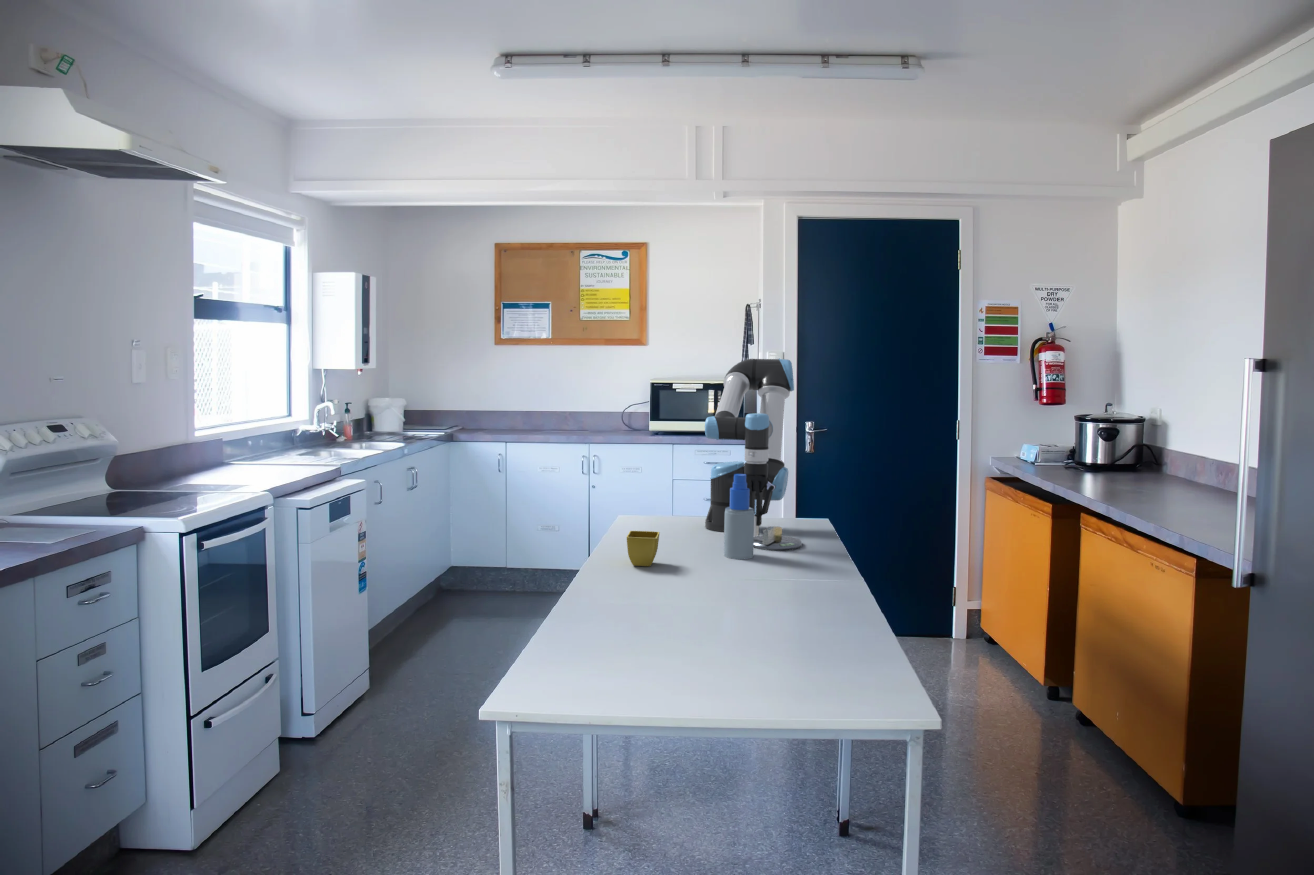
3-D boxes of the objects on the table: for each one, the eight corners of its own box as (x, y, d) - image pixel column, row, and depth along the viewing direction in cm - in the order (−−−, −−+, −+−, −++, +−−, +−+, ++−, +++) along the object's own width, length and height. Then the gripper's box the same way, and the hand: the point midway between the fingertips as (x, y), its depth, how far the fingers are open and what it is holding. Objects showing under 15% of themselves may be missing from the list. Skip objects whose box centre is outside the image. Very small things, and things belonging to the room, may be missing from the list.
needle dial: (770, 537, 264) (771, 523, 263) (783, 539, 262) (784, 525, 261) (758, 544, 254) (759, 529, 254) (771, 546, 252) (772, 531, 252)
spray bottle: (751, 552, 250) (753, 472, 248) (754, 559, 241) (756, 476, 239) (723, 552, 250) (724, 472, 248) (724, 559, 241) (726, 476, 239)
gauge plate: (754, 537, 272) (754, 532, 271) (805, 541, 266) (805, 536, 266) (743, 548, 256) (743, 543, 255) (796, 552, 250) (796, 548, 250)
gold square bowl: (659, 561, 238) (659, 531, 238) (656, 568, 230) (656, 537, 229) (630, 560, 239) (630, 530, 238) (626, 567, 231) (626, 537, 230)
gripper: (732, 462, 256) (731, 535, 258) (771, 464, 250) (769, 539, 252) (741, 459, 263) (740, 531, 265) (779, 462, 256) (778, 535, 258)
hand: (754, 535), depth 258 cm, fingers closed
